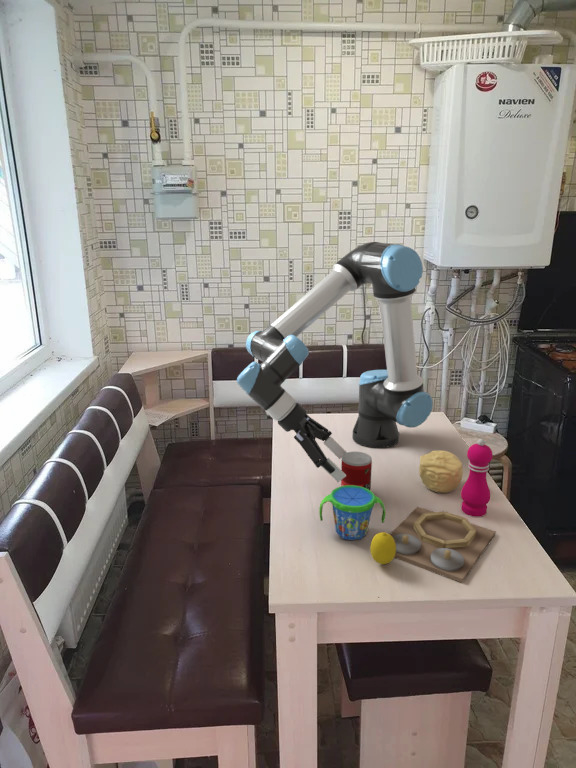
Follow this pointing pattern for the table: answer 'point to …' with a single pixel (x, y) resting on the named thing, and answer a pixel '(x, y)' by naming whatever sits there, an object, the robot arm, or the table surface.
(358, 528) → the snack cup
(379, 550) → the lemon
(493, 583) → the table surface
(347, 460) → the canned food
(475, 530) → the board
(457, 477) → the sculpture
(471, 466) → the pepper mill
